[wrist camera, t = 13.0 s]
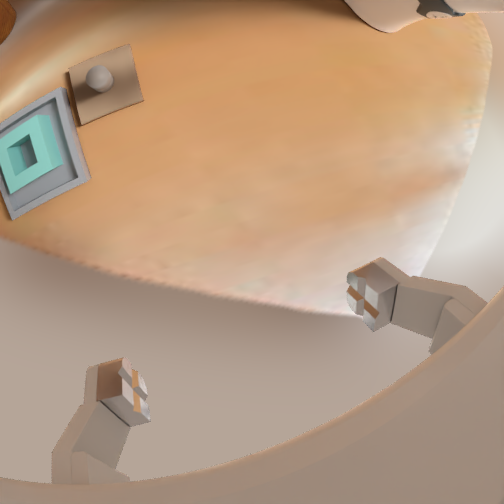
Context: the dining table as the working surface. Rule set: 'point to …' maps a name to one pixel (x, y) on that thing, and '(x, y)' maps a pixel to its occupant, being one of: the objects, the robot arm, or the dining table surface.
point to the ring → (44, 147)
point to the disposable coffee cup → (6, 19)
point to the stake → (105, 84)
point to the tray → (49, 183)
